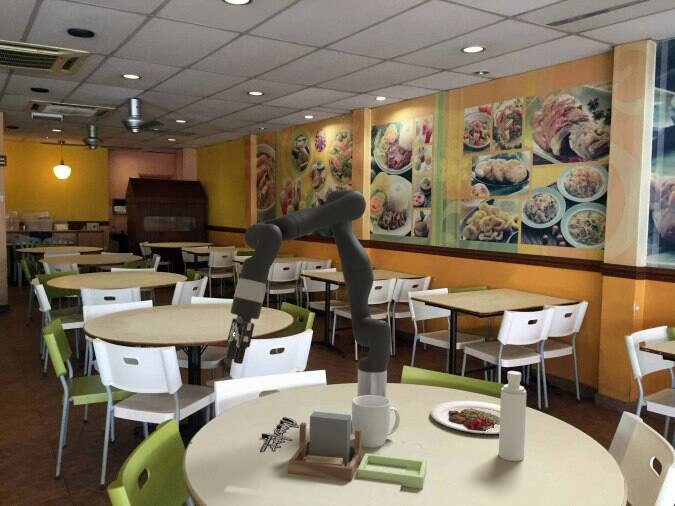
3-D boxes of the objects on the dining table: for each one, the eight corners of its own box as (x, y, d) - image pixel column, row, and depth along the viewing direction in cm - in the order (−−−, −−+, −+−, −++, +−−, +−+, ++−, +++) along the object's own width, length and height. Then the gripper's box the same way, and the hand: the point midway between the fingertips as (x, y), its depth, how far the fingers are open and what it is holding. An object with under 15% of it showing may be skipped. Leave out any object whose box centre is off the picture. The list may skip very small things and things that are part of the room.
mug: (388, 434, 169) (389, 391, 168) (408, 447, 159) (409, 402, 158) (344, 441, 162) (345, 397, 161) (362, 456, 152) (363, 409, 152)
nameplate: (271, 416, 179) (302, 417, 178) (271, 420, 179) (302, 422, 178) (251, 451, 151) (287, 453, 151) (251, 456, 152) (287, 458, 151)
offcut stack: (306, 465, 144) (306, 453, 143) (344, 469, 141) (344, 458, 141) (301, 472, 139) (301, 460, 139) (340, 477, 137) (340, 465, 137)
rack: (304, 454, 152) (305, 418, 152) (362, 461, 149) (363, 424, 148) (288, 476, 139) (288, 437, 138) (351, 485, 135) (352, 444, 135)
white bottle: (505, 462, 150) (508, 370, 149) (494, 451, 157) (497, 364, 156) (528, 460, 151) (532, 369, 150) (516, 450, 158) (520, 363, 157)
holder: (365, 463, 148) (365, 453, 147) (426, 471, 144) (426, 460, 144) (357, 480, 138) (357, 469, 138) (422, 488, 134) (423, 477, 134)
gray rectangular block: (313, 455, 150) (314, 411, 149) (349, 459, 147) (350, 415, 147) (309, 461, 146) (309, 416, 145) (346, 465, 144) (347, 420, 143)
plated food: (490, 403, 201) (490, 393, 201) (545, 433, 173) (546, 422, 173) (415, 410, 192) (415, 400, 192) (460, 443, 163) (461, 432, 163)
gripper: (270, 302, 139) (254, 367, 137) (255, 300, 152) (241, 359, 150) (241, 296, 136) (225, 362, 134) (228, 294, 149) (213, 354, 147)
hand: (233, 360), depth 142 cm, fingers open, 8 cm apart
